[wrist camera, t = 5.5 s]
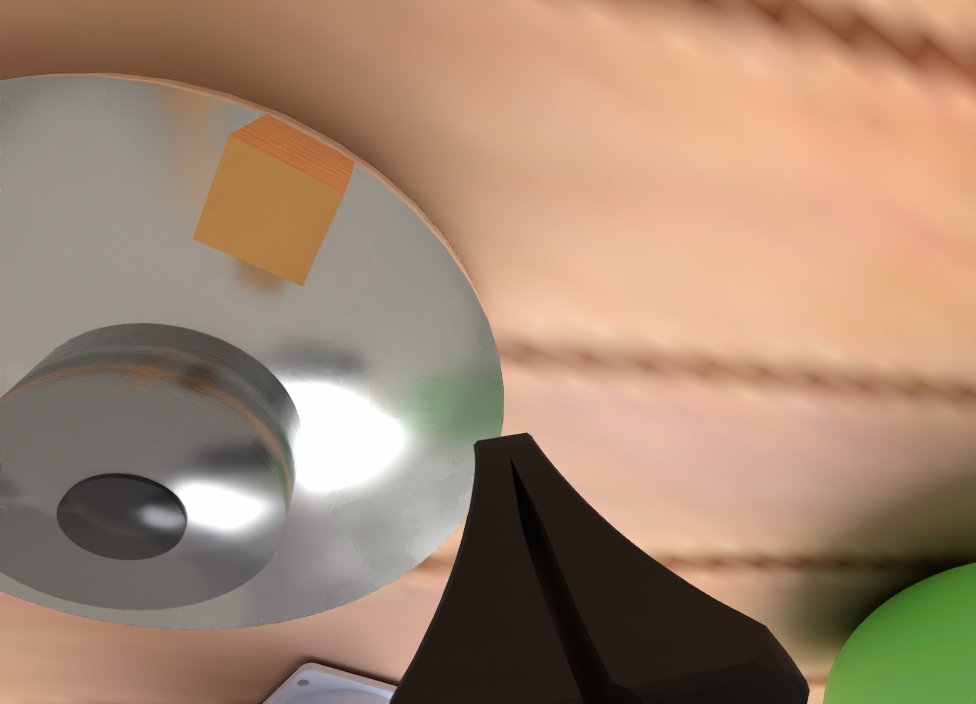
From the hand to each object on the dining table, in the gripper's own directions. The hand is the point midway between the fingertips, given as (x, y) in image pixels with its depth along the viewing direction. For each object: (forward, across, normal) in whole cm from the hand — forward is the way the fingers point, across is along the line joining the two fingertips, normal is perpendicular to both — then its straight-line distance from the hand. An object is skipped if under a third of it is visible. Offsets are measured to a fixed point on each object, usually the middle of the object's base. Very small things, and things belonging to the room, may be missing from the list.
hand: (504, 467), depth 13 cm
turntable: (+4, +8, 0) cm, 9 cm away
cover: (+3, +9, 0) cm, 9 cm away
